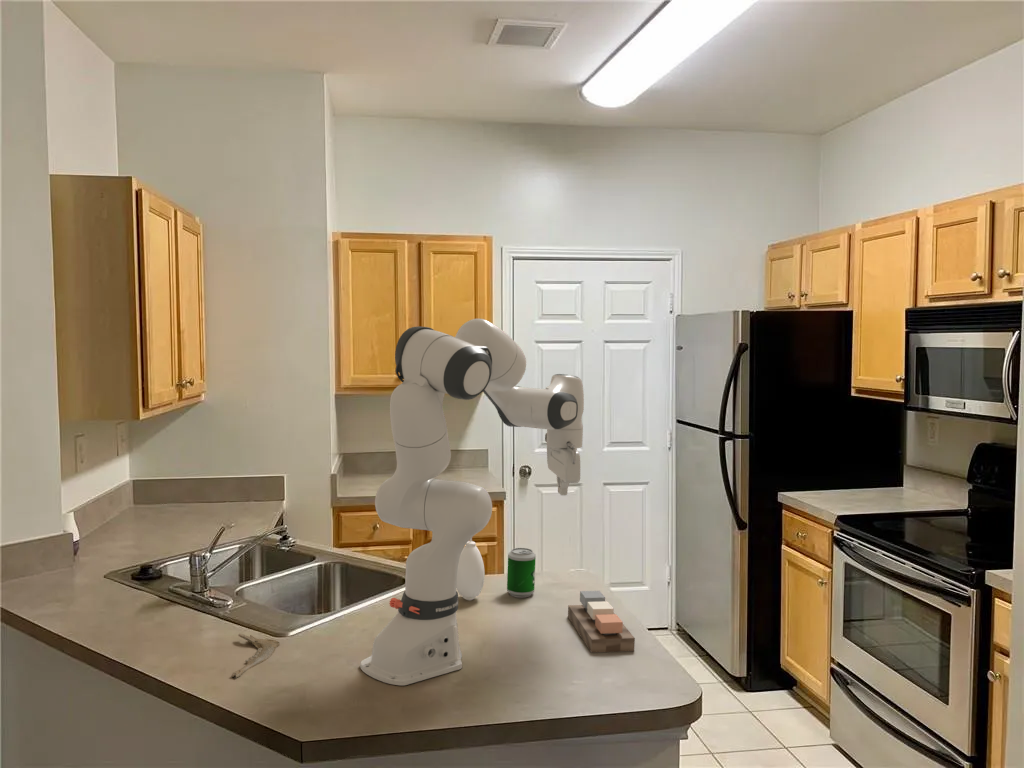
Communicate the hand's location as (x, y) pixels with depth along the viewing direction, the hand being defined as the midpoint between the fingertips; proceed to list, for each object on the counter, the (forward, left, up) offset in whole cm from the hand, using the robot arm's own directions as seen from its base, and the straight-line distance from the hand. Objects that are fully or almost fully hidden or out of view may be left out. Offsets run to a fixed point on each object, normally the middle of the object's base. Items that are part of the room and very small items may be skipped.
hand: (562, 494), depth 197 cm
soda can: (+6, +17, -31) cm, 36 cm away
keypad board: (-2, -14, -31) cm, 34 cm away
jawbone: (-68, +33, -32) cm, 82 cm away
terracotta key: (-7, -19, -31) cm, 37 cm away
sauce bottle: (-7, +24, -31) cm, 40 cm away
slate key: (+2, -9, -30) cm, 31 cm away
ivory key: (-2, -14, -30) cm, 33 cm away
